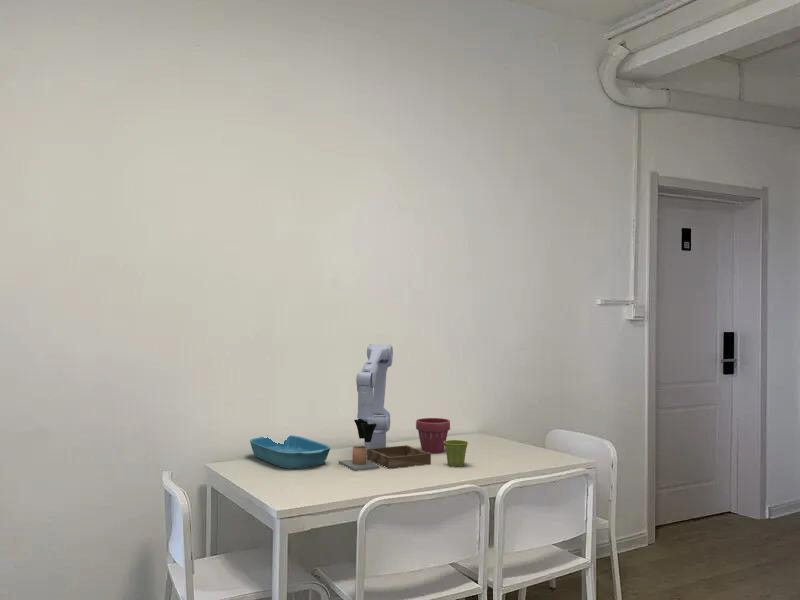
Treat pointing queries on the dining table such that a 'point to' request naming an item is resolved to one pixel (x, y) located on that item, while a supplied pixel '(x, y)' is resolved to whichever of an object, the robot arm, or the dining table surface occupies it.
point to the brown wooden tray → (398, 456)
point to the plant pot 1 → (432, 433)
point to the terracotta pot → (359, 455)
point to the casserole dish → (290, 452)
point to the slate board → (358, 467)
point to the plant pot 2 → (455, 452)
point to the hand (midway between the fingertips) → (364, 440)
